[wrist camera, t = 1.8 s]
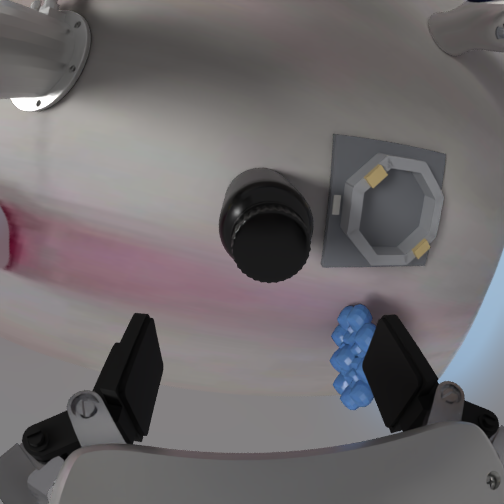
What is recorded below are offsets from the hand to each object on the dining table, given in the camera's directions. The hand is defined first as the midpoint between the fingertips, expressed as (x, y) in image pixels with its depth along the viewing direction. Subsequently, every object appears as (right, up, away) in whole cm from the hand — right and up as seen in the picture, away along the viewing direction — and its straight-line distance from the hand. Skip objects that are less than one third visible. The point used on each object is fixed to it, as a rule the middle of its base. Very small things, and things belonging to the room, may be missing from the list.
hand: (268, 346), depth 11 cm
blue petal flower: (+12, -6, +24) cm, 27 cm away
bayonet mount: (+14, +9, +17) cm, 24 cm away
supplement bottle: (0, +9, +17) cm, 19 cm away
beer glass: (+23, +30, +8) cm, 38 cm away
